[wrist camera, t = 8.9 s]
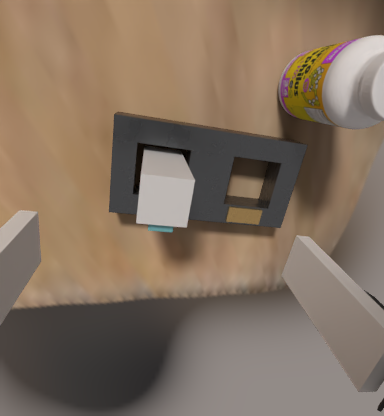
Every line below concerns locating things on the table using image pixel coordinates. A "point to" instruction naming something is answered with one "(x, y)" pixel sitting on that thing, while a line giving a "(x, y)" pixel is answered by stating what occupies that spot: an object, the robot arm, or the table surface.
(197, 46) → the table surface
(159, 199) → the plug
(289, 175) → the panel
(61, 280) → the table surface
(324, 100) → the supplement bottle
